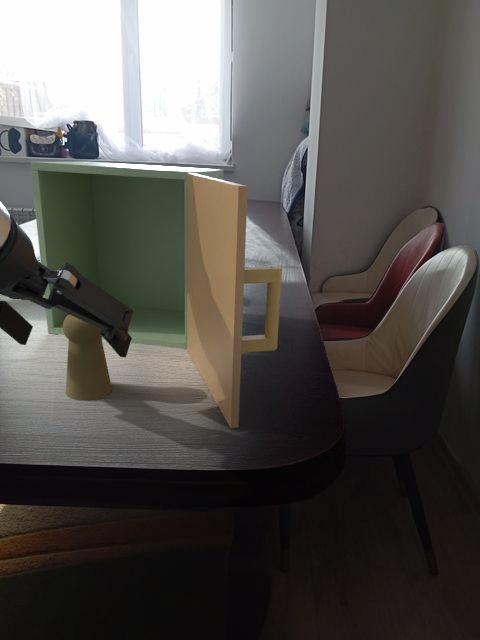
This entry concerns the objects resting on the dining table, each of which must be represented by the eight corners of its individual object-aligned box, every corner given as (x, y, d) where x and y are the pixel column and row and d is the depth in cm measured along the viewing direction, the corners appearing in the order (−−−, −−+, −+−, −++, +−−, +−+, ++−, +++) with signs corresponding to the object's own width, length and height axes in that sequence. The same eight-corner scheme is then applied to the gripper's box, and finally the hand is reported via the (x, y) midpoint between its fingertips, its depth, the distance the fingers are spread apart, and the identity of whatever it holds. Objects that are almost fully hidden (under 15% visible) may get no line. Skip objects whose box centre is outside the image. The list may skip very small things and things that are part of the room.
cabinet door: (224, 348, 87) (228, 174, 77) (279, 422, 64) (295, 187, 54) (187, 351, 85) (187, 172, 75) (230, 428, 62) (238, 185, 52)
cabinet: (191, 350, 86) (191, 171, 76) (47, 333, 90) (30, 161, 80) (220, 319, 103) (223, 169, 93) (97, 306, 107) (87, 161, 97)
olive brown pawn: (119, 384, 72) (115, 309, 68) (99, 403, 67) (93, 323, 63) (79, 379, 73) (73, 305, 69) (56, 397, 67) (48, 318, 64)
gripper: (-167, 260, 46) (-25, 356, 65) (90, 286, 42) (161, 380, 61) (-127, 195, 49) (-2, 305, 68) (116, 214, 45) (176, 325, 64)
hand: (75, 341), depth 65 cm, fingers open, 13 cm apart
